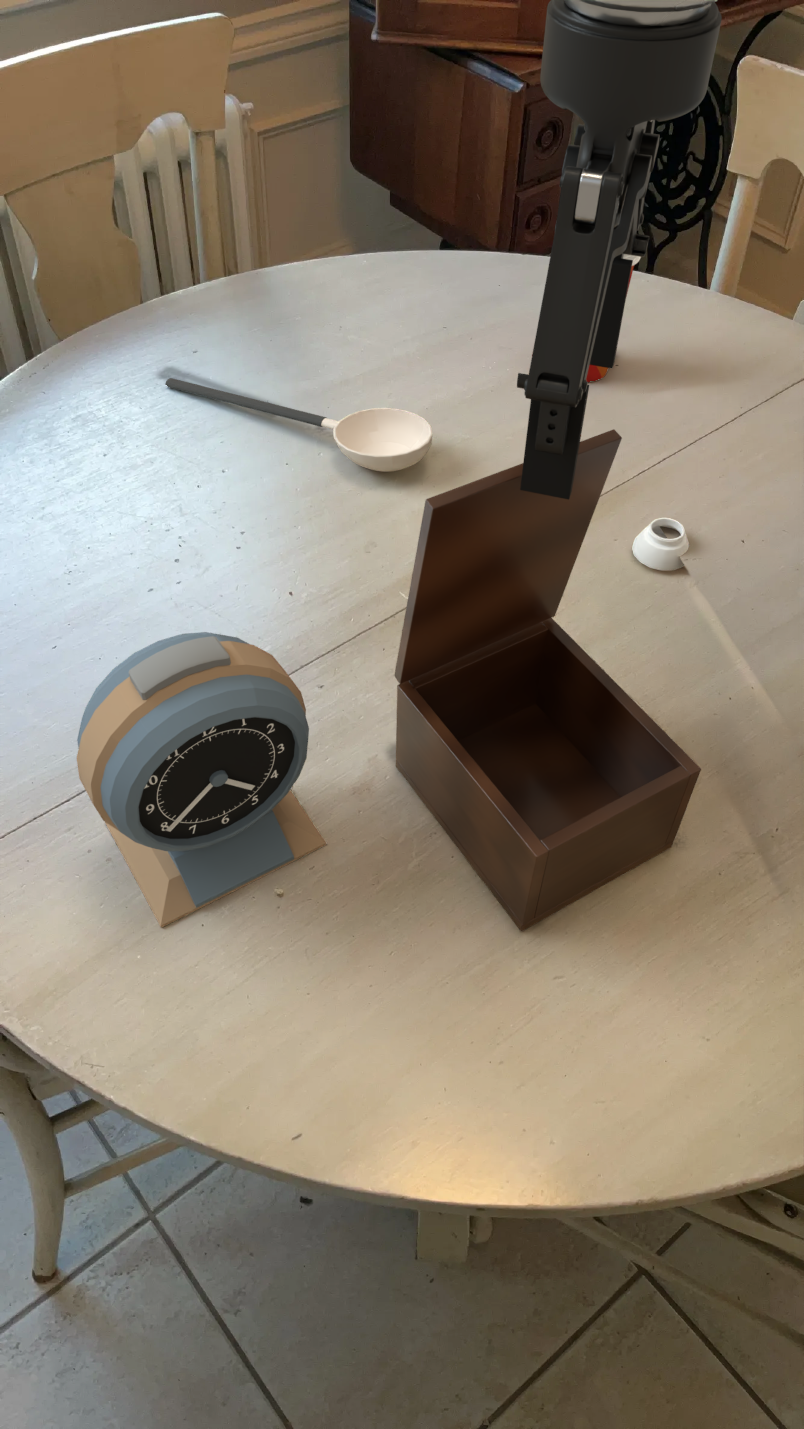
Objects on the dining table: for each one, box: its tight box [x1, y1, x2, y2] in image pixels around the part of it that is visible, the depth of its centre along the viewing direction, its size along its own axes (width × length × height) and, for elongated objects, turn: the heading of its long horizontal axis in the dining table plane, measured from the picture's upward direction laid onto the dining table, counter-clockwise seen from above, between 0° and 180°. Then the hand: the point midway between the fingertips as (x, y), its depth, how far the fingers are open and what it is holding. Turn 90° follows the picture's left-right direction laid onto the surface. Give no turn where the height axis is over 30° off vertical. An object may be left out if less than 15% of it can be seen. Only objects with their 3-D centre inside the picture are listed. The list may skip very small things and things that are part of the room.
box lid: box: [393, 428, 623, 684], centre depth 65 cm, size 17×13×1 cm
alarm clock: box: [76, 631, 328, 928], centre depth 66 cm, size 14×10×18 cm
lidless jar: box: [631, 517, 690, 571], centre depth 91 cm, size 5×3×5 cm
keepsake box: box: [395, 617, 702, 933], centre depth 71 cm, size 16×13×9 cm
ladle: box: [164, 377, 434, 472], centre depth 103 cm, size 8×31×4 cm, turn 60°
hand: (570, 422), depth 61 cm, fingers open, 13 cm apart
